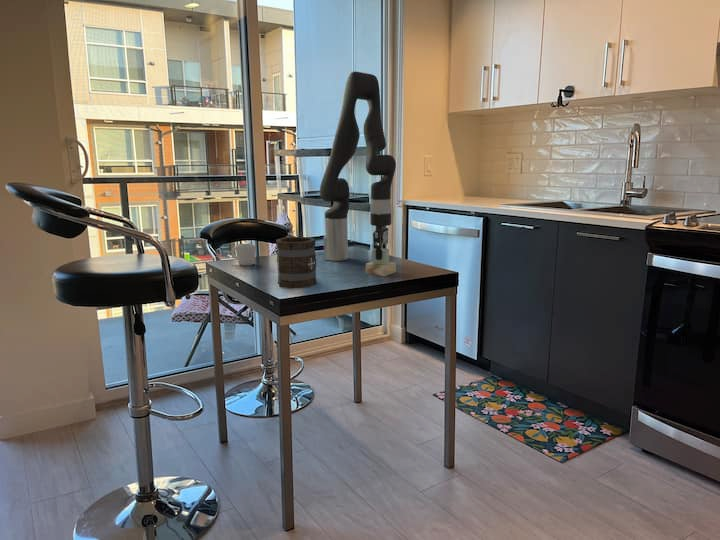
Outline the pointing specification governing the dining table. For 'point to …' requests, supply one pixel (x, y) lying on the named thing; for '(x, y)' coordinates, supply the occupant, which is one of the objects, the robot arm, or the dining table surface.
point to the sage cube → (384, 256)
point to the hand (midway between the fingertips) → (380, 257)
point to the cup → (245, 254)
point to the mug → (296, 262)
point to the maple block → (381, 268)
